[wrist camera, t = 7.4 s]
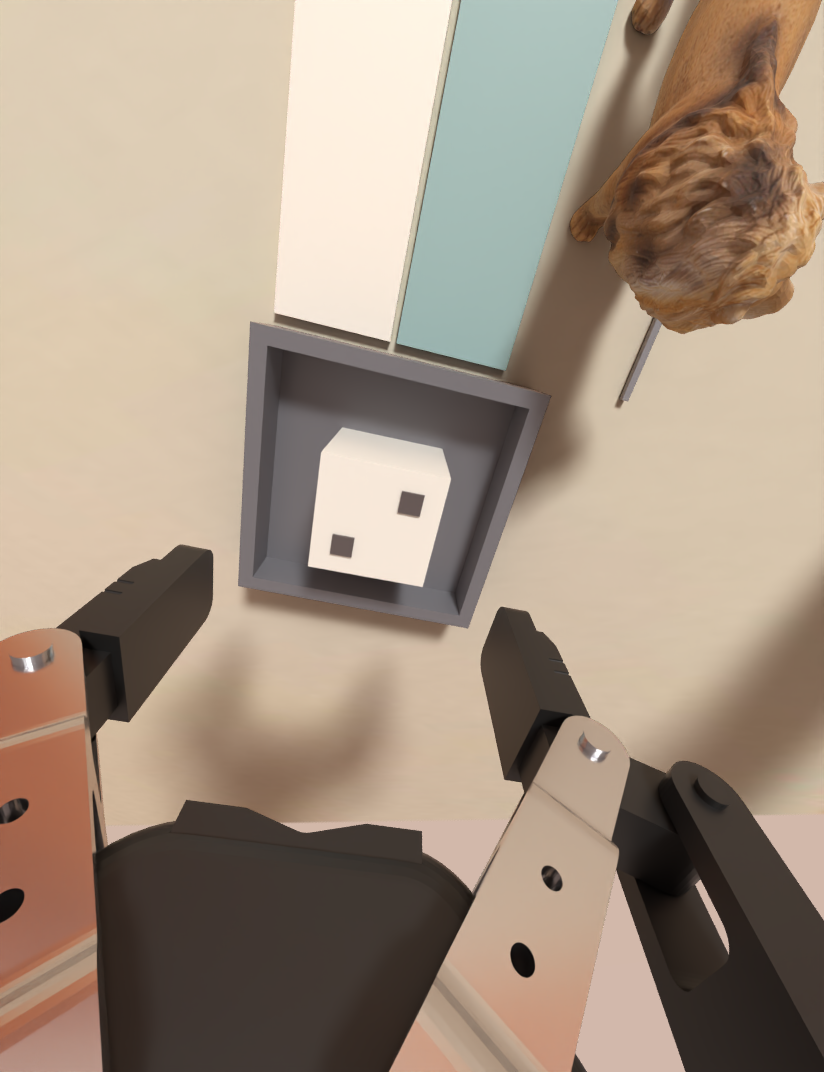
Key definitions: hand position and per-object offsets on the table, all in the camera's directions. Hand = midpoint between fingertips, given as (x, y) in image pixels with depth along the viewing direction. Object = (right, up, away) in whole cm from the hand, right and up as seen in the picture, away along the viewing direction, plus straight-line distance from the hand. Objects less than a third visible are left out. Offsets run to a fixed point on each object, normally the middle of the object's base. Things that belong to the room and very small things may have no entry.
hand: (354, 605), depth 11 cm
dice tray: (0, +5, +10) cm, 11 cm away
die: (0, +5, +9) cm, 11 cm away
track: (+5, +16, +5) cm, 18 cm away
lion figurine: (+11, +17, +4) cm, 21 cm away
